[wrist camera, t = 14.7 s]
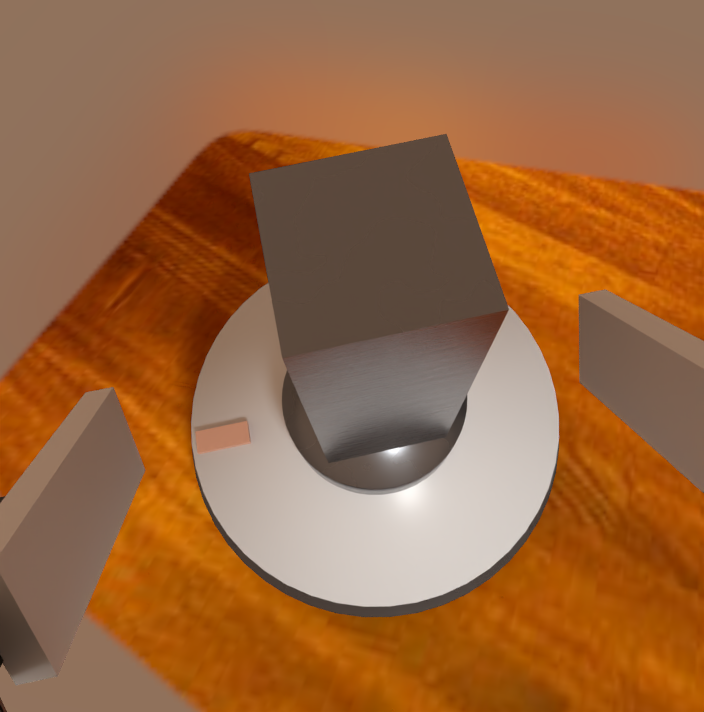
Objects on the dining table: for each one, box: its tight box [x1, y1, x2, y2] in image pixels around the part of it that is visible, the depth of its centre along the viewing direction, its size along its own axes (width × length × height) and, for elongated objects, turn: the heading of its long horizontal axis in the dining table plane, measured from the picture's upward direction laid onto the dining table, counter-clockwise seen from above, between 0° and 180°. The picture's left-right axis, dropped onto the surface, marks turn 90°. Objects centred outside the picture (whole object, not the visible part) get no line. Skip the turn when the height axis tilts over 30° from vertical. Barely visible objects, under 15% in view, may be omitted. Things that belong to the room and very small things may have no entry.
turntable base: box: [192, 442, 559, 617], centre depth 28 cm, size 18×18×2 cm
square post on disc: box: [249, 134, 509, 495], centre depth 19 cm, size 8×8×14 cm
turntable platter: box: [191, 283, 559, 607], centre depth 26 cm, size 17×17×2 cm
